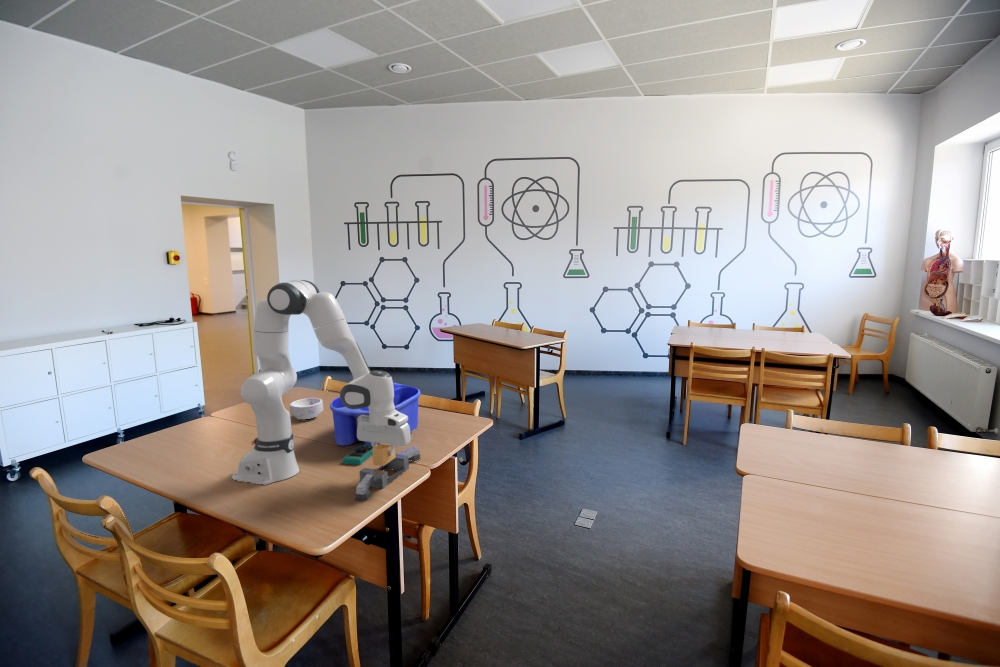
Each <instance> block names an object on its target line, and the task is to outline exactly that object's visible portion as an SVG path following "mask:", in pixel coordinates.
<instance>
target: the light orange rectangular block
mask: <svg viewBox="0 0 1000 667" xmlns="http://www.w3.org/2000/svg"><path fill="white" fill-rule="evenodd" d="M390 449H391V447H390V444H382V443H380V444H379V445H377V446H375V447H374V448H373V455H372V461H373V462H372V463H373V465H375V466H380V467H381V466H384V465H386V464H387V463H388V462H390V461H391V460H393V459H394V458H396V454H397V453H396V448H395V449H394V455H393V456H388V451H389V450H390Z"/></svg>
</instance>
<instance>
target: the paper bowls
mask: <svg viewBox="0 0 1000 667" xmlns="http://www.w3.org/2000/svg"><path fill="white" fill-rule="evenodd" d="M323 411H324V402H323V399H321V398H320V397H319V398H317V397H309V398H308V397H307V398H306V397H305V398H301V399H297V400H294V401H292V402H290V403H289V413H290V416H293V417H294V418H295V419H296V418H298V419H310V418H314V417H316V416H318V417H319V415H320V413H322V412H323ZM316 418H317V417H316ZM298 419H297V420H298ZM314 419H315V418H314Z"/></svg>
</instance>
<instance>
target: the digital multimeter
mask: <svg viewBox="0 0 1000 667" xmlns="http://www.w3.org/2000/svg"><path fill="white" fill-rule="evenodd" d="M371 456H373V447H372V445H365V444H361V445H359V446H358V447H357V448H355V449H354V450H352V451H351V452H350V453H348V454H347V455H345V456H344V457H343V458H342V464H345V465H350V464H352V466H353V465H355V466H360V465H362V464H363V463H364V462H365V461H367V458H368V459H369V458H370V457H371Z"/></svg>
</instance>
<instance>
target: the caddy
mask: <svg viewBox="0 0 1000 667" xmlns="http://www.w3.org/2000/svg"><path fill="white" fill-rule="evenodd" d="M393 387H394V399H393V403H394V406H395V410H397V411H398V412H400V413H402V414H405V415H407V416H408V421H407V422H406V423H408V425H409V427H410V432H412V431H413V430H414V429H416V428H417V429H418V427H417V426H418V425H419V424H418V423H419V398H420V396H421V390H420V389H419V388H417V387H414V386H412V385H407V384H401V383H397V382H393ZM329 409H330V410H331V412H332V419H333V428H334V437H335V438H334V440H335V443H336V445H337V446H349V445H352V444H354V443H356V442H358V441H359V440H358V438H357V426H358V421H357V419H358V417H359V416H361V415H369V408H368V407H365V408H360V409H349V408H347V407H345V406H344V405H343V403H342V402H341V399H340V396H339V397H337V398H335V399H333V400H332V401H331V402H330V403H329ZM417 429H416V430H417ZM379 444H380V443H377V445H379ZM364 445H371V442H367V441H364Z"/></svg>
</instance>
